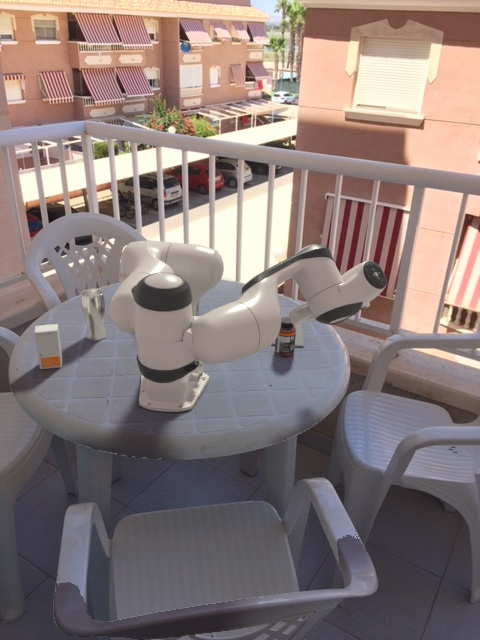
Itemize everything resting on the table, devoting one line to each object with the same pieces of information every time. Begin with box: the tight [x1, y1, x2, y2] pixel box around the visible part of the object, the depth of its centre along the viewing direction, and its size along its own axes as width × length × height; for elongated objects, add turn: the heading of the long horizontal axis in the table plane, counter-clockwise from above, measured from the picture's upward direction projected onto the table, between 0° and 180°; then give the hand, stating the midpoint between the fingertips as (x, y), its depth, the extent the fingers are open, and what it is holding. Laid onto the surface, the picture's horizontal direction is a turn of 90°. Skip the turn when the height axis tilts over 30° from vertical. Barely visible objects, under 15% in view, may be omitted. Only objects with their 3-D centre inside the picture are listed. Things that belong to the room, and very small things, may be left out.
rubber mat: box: [271, 323, 305, 348], centre depth 168 cm, size 15×22×1 cm
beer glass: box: [80, 287, 107, 341], centre depth 159 cm, size 7×7×15 cm
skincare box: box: [34, 323, 63, 370], centre depth 145 cm, size 6×4×12 cm
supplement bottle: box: [274, 316, 296, 358], centre depth 155 cm, size 6×6×11 cm
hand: (312, 318), depth 140 cm, fingers closed
